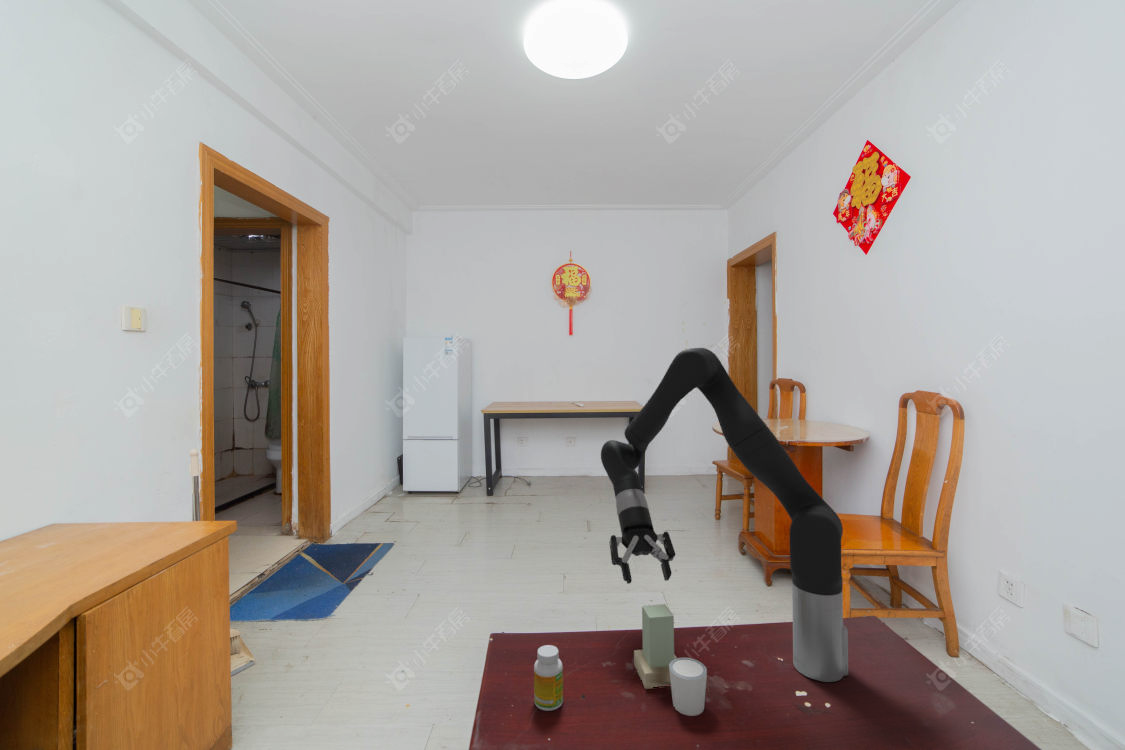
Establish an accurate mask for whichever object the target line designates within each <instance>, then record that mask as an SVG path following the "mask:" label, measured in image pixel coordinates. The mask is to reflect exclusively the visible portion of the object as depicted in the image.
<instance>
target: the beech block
mask: <svg viewBox="0 0 1125 750" xmlns="http://www.w3.org/2000/svg"><path fill="white" fill-rule="evenodd" d="M677 658H678V657H677V656H676V654H675V653H674V659H677ZM633 665H634V668H635V669H637V670H636V671H637V674H638V676H639V679H640V681H641V680H642V681H641V683H642V684H643V688H644V690H646V689H647V690H648V689H654V688H653V687H658V686H665V685H671V680H670V671H669V666H666V667H655V668H650V667H649V665H648V663H647V661H646V659H645V657H644V655H643V649H637V650H636V649H635V650H633Z"/></svg>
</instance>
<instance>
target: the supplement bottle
mask: <svg viewBox="0 0 1125 750" xmlns="http://www.w3.org/2000/svg"><path fill="white" fill-rule="evenodd" d="M536 657H537V659H536V660H535V662H534V665H533V680H534V681H533V686H534V687H533V688H534V689H533V691H534V692H533V693H534V694H533V695H534V698H533V700H534V704H535V706H536V707H537V708H538V709H539V710H542V711H546V712H550V711H551V712H552V711H555V710H558V709H559V708H560V707H561V706H562V704H563V702H564V682H563V681H564V679H563V677H564V675H563V673H564V672H563V669H564V667H563V662H562V661H561V659H560V657H559V649H558V647H556V646H555V645H552V644H547V645H546V644H545V645H542V646H540V647H539V648H538V649H537V656H536Z"/></svg>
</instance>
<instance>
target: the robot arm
mask: <svg viewBox="0 0 1125 750" xmlns="http://www.w3.org/2000/svg"><path fill="white" fill-rule="evenodd" d="M695 389H697V390H699V391H700V392H701V394H702V395H703V396H704V397H705V399H706V400H707V401H708V402H709V404H710V405H711V407H712V408H713V410H714V413H715V414H716V417H717V421H718V423H719V426H720V428H721V432H722V434H723V437H724V439H725V442H726V443H727V444H728V447H730V449H731V451H732V452H733V453H734V455H735V456H736V457H737V458H738V460H739V462H740V463H741V464H742V465H743V466H744V467H745V469H746V470H747V471H748V472H749V473H751V474H752V476H754V478H756V480H758V481H759V482H760V483H761V484H763V486H765V487H766V488H767V489H768V490H770V491H771V492H772V493H773V495H774V496H775V497H776V498H777V499H778V501H779V502H780V503H781V505H782V507H783V508H784V510H785V511H786V513H787V515H788V516H789V518H790V520H791V523H790V527H789V566H790V572H791V579H792V580H791V581H792V583H791V584H792V585H791V586H792V589H791V591H792V595H791V596H792V600H791V601H792V663H793V666H794V668H795V669H796V670H797V671H798V672H799V673H800V674H802V675H803V676H805V677H807V678H809V679H812V680H815V681H819V682H824V683H832V682H833V683H834V682H835V683H836V682H838V681H841V679H843V677H845V676H849V636H848V635H849V630H848V627H847V626H846V625H844V610H843V608H844V606H843V602H844V601H843V595H844V593H843V590H844V589H843V586H844V585H843V582H844V581H843V574H842V539H843V538H842V537H843V532H844V530H843V529H844V527H843V523H842V521H841V519H840V517H839V515H838V513H837V512H836V511H835V510H834V509H833V508H832V507H831V506H830V505H829V504H828V503H827V502H826V501H825V500H824V498H822V497H821V495H820V494H819V492H817V491H816V490H815V489H814V488H813V487H812V485H811V484H810V483H809V482H808V481H807V480H806V478H805V477H804V476H803V475H802V473H801V472H800V470H799V469H798V467H797V465H796V464H795V463H794V461H793V459H792V458H791V456H790V455H789V453H788V452H787V451H786V449H785V448H784V447H783V445H782V444H781V442H780V441H779V440H778V438H777V437H776V435H775V434H774V433H773V431H772V430H771V429H770V428H769V427H768V425H767V424H766V422H764V420H763V419H762V418H761V417H760V416H759V414H758V412H756V410H755V409H754V408H753V407H752V405H751V404H750V402H749V401H748V400H747V399H746V398H745V397H744V395H743V394H742V392H740V390H739V389H738V388H737V386H736V385H735V383H734V382H733V380H732V378H731V377H730V375H729V374H728V372H727V369H726V368H725V367H724V365H723V364H722V362H721V360H720V358H719V357H718V356H717V355H716V354H715V353H714V352H713V351H711V350H710V349H708V348H705V347H694V348H693V347H692V348H687V349H683V350H681V351H679V352H678V353H677V354H676V356H675V357H674V358H673V360H672V361H671V363H670V365H669V367H668V368H667V370H666V372H665V374H664V375H663V378H662V379H661V380H660V383H659V384H658V386H657V388H656V389H655V390H654V392H653V393H652V395H651V396H650V397H649V398H648V400H647V401H646V403H645V404H644V406H642V408H641V409H640V410H639V412H638V413H637V414H636V415H635V416H634V417H633V419H632V420H631V421H630V423H629V424H628V425H627V426H626V428H625V430H624V437H625V439H626V441H627V442H628V443H625V442H623V441H618V440H614V439H613V440H611V439H610V440H607V441H606V442H605V443H603V445H602V447H601V451H600V459H601V460H600V461H601V464H602V466H603V468H604V471H605V472H606V474H607V476H608V479H609V480H610V481H611V484H612V486H613V491H614V492H613V493H614V498H615V507H616V508H615V509H616V513H617V514H616V515H617V519H618V522H619V526H620V533H621V536H616V535H615V534H612V535H611V536H610V539H609V549H610V551H609V552H610V558H611V564H612V565H614V566H619V567H620V569H621V573H622V579H623V581H624V582H626V584H628V585H629V584H630V585H631V583H632V580H633V579H632V574H631V569H630V564H629V559H630V557H631V556H632V555H634V556H635V557H638V556H639V557H640V556H641V555H643V556H648V555H651V556H652V558H655V559H657V560H658V562H660V563H661V564H660V567H661V571H662V572H661V573H662V575H663V579H664V581H666V582H667V581H669V580H670V578H671V576H672V569H671V565H670V562H671V561H673V560H674V558H675V556H676V552H675V548H674V546H673V543H672V540H671V536H670V533H669V532H668V531H663V533H659V534H657V533H656V532H655V530H654V526H653V525H654V524H653V522H652V518H651V517H652V516H651V513H650V509H649V504H648V501H647V499H646V496H645V494H644V491H643V489H644V488H643V486H642V482H641V478H640V476H639V474H638V473H636V472H635V471H634V470H636V469H637V468H638V467H639V466H640V464H641V462H642V460H643V458H644V456H645V453H646V451H647V450H648V447H649V444H651V443H652V441H653V440H654V439H655V438H656V436H657V435H658V434H660V432H661V431H662V429H663V428H664V427H665V425H666V424H667V422H668V420H669V418H670V416H671V415H672V412H673V411H674V409H675V408H676V406H677V405H678V404H679V403H680V401H682V399H684V398H685V397H686V396H687V395H688V394H689V393H691V392H692V391H693V390H695ZM657 541H658V542H659V543H660V544H661V545H663V548H664V551H663V549H662V547H660V545H658V544H657ZM620 544H622V546H624V548H625V552H624V555H623V556H622V557H620V556H619V551H618V550H619V549H618V548H619V546H620Z"/></svg>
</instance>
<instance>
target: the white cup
mask: <svg viewBox="0 0 1125 750" xmlns="http://www.w3.org/2000/svg"><path fill="white" fill-rule="evenodd" d="M669 671H670V680H671V686H670V690H671V697H672V706H673V708H674V707H675V708H674V709H675V710H676V711H678V713H680V714H682V715H685V716H688V717H689V716H690V717H691V716H692V717H694V716H699V715H700V714H702V713H704V710H705V703H706V701H705V700H706V687H707V675H708V670H707V667H706V666H705V664H703V662H701V661H699V660H697V659H696V658H695V659H694V658H690V657H677V659H674V660H672V661H671V662H670V664H669Z"/></svg>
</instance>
